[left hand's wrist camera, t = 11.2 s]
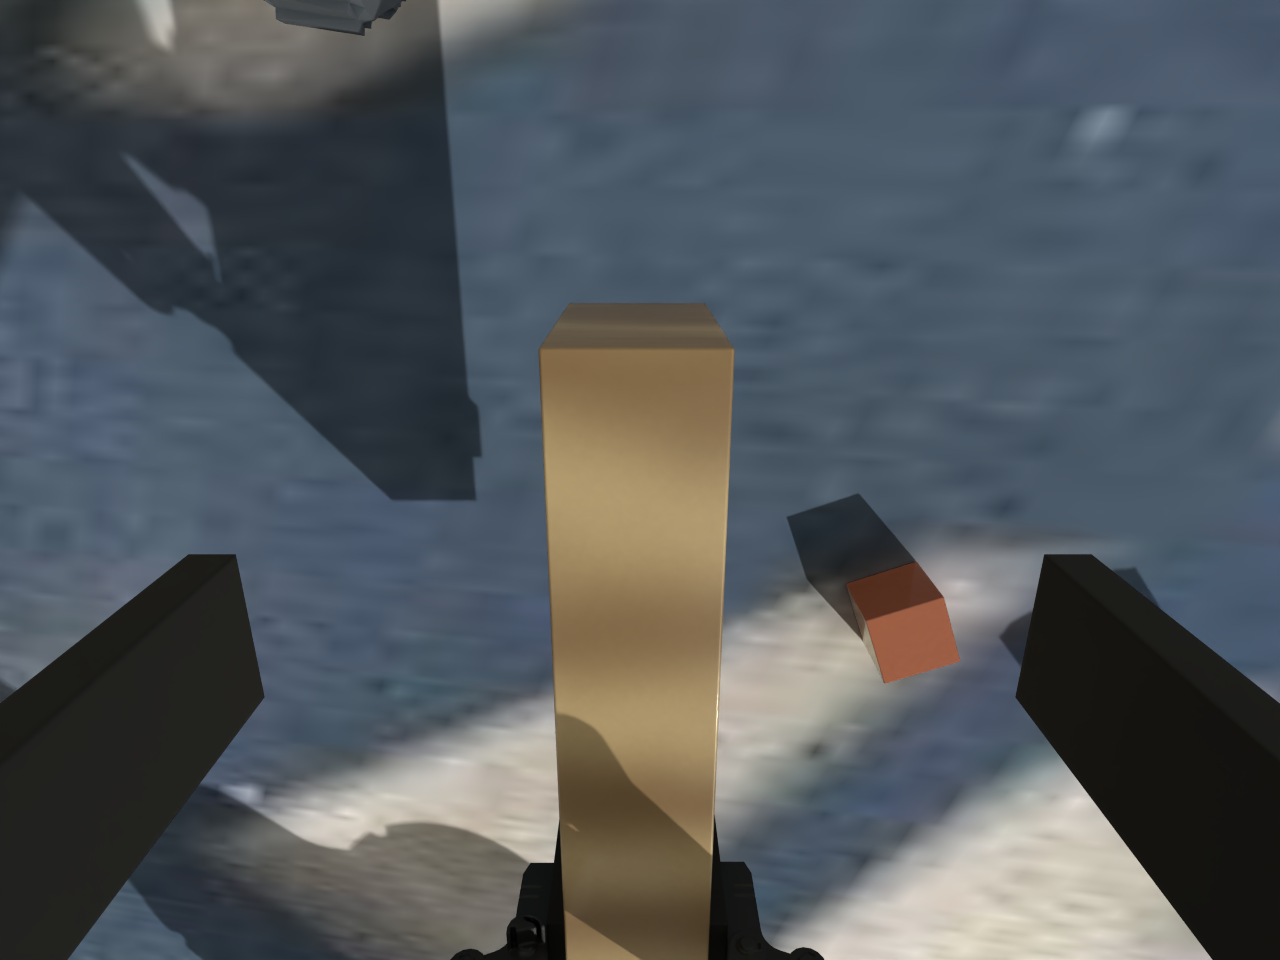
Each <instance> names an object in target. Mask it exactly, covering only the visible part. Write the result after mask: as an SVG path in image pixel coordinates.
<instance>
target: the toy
mask: <svg viewBox="0 0 1280 960" xmlns="http://www.w3.org/2000/svg"><path fill="white" fill-rule="evenodd" d="M264 1H266V2H267V3H269V4H271V5H273V6H274V7H276V19H277V20H279V21H281V22H283V23H286V24H293V25H299V26H305V27H312V28H318V29H324V30H331V31H337V32H344V33H350V34H356V35H363V36H365V28H370V29H371V23H372V21H374V20H376V19H377V18H384V19H390V18H391V17H392V16H393V15H394V13H395V12H396V11H397V9H398V7H401V2H402V1H406V0H264Z"/></svg>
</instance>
